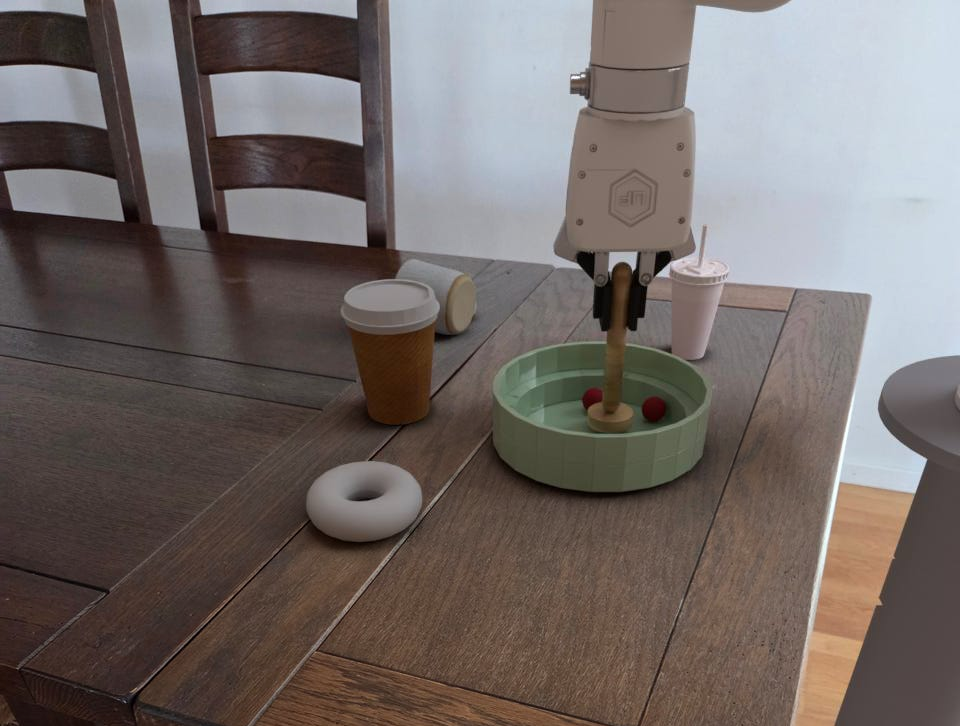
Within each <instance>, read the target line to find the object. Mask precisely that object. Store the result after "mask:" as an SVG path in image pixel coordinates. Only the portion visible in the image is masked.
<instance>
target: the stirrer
mask: <svg viewBox="0 0 960 726" xmlns="http://www.w3.org/2000/svg"><path fill="white" fill-rule="evenodd" d="M632 273H633V267H632V266H631V264H630V263H628V262H626V261H619V262H617V263H615V264H614V265H613V267H612V269H611V274H610V278H611V284H612V287H613V295H612V307H611V320H610V330H608V331H606V339H605V341H606V353H605V366H604V380H603V393H602V402H599V403H596V404H593V405H592V406H590V407H589V409H588V414H587V424H588V426H589V427H590V428H592V429H593V430H596V431H598V432H603V433H620V432H623V431H626V430H628V429H629V428H630V427H631V426H632V421H633V410H632V409H631V408H630V407H629V406H627V405H625V404H623V403H621V393H622V382H623V371H624V360H625V349H626V343H627V337H628V327H627V324H628V313H629V302H630V290H631V282H632Z"/></svg>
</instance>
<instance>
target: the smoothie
mask: <svg viewBox="0 0 960 726" xmlns="http://www.w3.org/2000/svg"><path fill="white" fill-rule="evenodd" d="M708 232H709V224H702V231H701V238H700V246H699V252H698V256H692V257H691V256H690V257H683V258H681V259H678V260H676V261H672V262H671V264H670V266H669V272H668V276H669V278H670V279H671V354H673V355H676V356H678V357H681V358H682V359H684V360H686V361H694V360H699V359H701V358H703V357H704V356H705V353H706V351H707V346H708V342H709V339H710V335H711V332H712V328H713V326H714V321H715V318H716V315H717V310H718V307H719V303H720V300H721V296H722V293H723V289H724V286H725V282H726V281H728V280H729V277H730V266H729V265H728V264H727V263H726V262H724V261H721V260H719V259H715V258H710V257H705V253H706V246H707V238H708Z"/></svg>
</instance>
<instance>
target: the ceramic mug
mask: <svg viewBox="0 0 960 726" xmlns="http://www.w3.org/2000/svg"><path fill="white" fill-rule="evenodd" d="M394 279H402V280H412V281H416V282H421V283H423V284H426V285H428V286H429V287H431V288H432V289H433V291H434V294H435V298H436V300H437V301H438V302H439V304H440V310H439V312H438V314H437V318H436V320H435V332H434V333H436V334H441V335H447V336H456V335H459V334H461V333H463V332H464V331H465V330H466V329H467V328H468V327H469V325H470V324H471V322H472V319H473V317H474V316H475V314H476V311H477V307H478V302H477V290H476V286H475V284H474V281H473V280H472V278H471V277H470V276H469V275H467V274H465V273H463V272H461V271H459V270H456V269H453V268H448V267H443V266H441V265H437V264H433V263H430V262H426V261H423V260H420V259H416V258H412V259H411V258H410V259H408V260H406V261H405V262H404V263H402V265H401V266H400V267H399V269H398V270H397V272H396V274H395V278H394Z"/></svg>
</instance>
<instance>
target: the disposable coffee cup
mask: <svg viewBox="0 0 960 726" xmlns="http://www.w3.org/2000/svg"><path fill="white" fill-rule="evenodd" d="M439 310H440V304H439V302H438V301H437V300H436V298H435V294H434V291H433V289H432V288H431V287H429V286H428V285H426V284H423V283H421V282H416V281H412V280H402V279H395V278H392V279H391V278H388V279H379V280H377V279H376V280H372V281H367V282H364V283H361V284H358V285H355V286H353V287H351V288H350V289H348V290H347V291H346V292H345V294H344V296H343V305H341V308H340V314H341V317H342V319H344V323H345V324H346V325H347V328H348V333H349V337H350V341H351V345H352V350H353V353H354V358H355V362H356V365H357V369H358V374H359V378H360V381H361V382H360V383H361V386H362V391H363V395H364V398H365V402H366V406H367V411H368V415H369V417H370V418H371V419H372V420H373V421H375V422H377V423H381V424H383V425H384V424H385V425H391V426H393V425H395V426H397V425H407V424H413V423H415V422H418V421H421V420H423V419H424V418H425V417H426V416H427V415H428V414H429V413H430V401H431V387H432V375H433V373H432V372H433V359H434V346H435V333H436V332H435V320H436V318H437V314H438V312H439Z"/></svg>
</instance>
